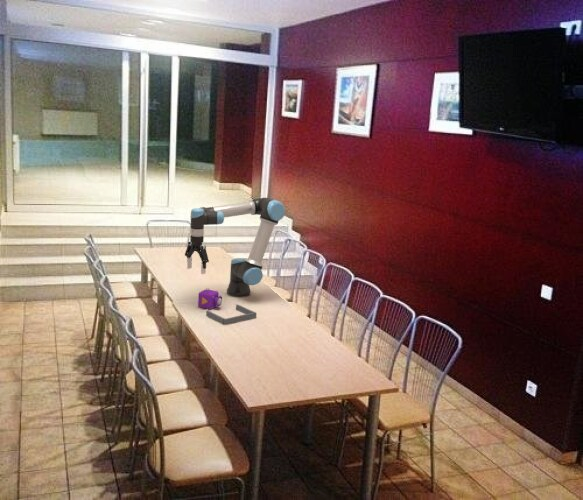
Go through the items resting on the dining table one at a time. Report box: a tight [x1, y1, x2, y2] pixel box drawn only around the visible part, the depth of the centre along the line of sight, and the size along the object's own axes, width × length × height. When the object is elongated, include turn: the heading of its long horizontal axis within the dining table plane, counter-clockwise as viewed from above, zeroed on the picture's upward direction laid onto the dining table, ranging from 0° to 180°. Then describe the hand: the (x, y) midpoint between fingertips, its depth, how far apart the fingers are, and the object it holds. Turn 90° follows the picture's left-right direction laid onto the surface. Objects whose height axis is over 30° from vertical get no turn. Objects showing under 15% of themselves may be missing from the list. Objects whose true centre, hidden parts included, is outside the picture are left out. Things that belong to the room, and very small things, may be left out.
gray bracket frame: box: [205, 303, 257, 326], centre depth 336 cm, size 22×18×4 cm
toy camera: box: [197, 288, 223, 310], centre depth 349 cm, size 11×14×10 cm
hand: (196, 271), depth 347 cm, fingers open, 13 cm apart
